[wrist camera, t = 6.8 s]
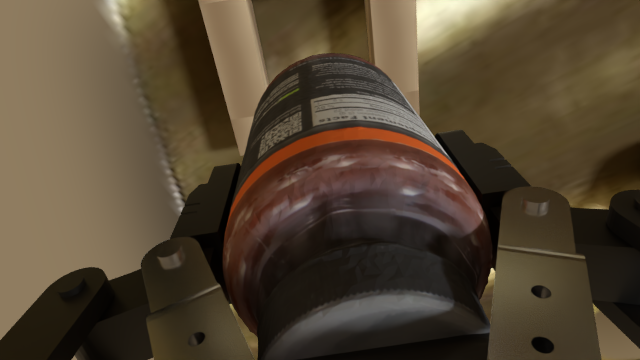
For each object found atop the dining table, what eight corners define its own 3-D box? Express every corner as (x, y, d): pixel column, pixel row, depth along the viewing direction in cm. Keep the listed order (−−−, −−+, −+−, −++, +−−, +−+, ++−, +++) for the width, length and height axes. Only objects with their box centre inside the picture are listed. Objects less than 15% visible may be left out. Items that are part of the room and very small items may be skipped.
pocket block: (402, -84, 28) (413, -87, 25) (410, 114, 34) (419, 127, 32) (195, -49, 28) (185, -48, 25) (244, 140, 35) (240, 155, 32)
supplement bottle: (361, 208, 18) (431, 509, 9) (233, 158, 17) (142, 455, 7) (435, 88, 16) (656, 324, 6) (291, 18, 14) (273, 180, 5)
